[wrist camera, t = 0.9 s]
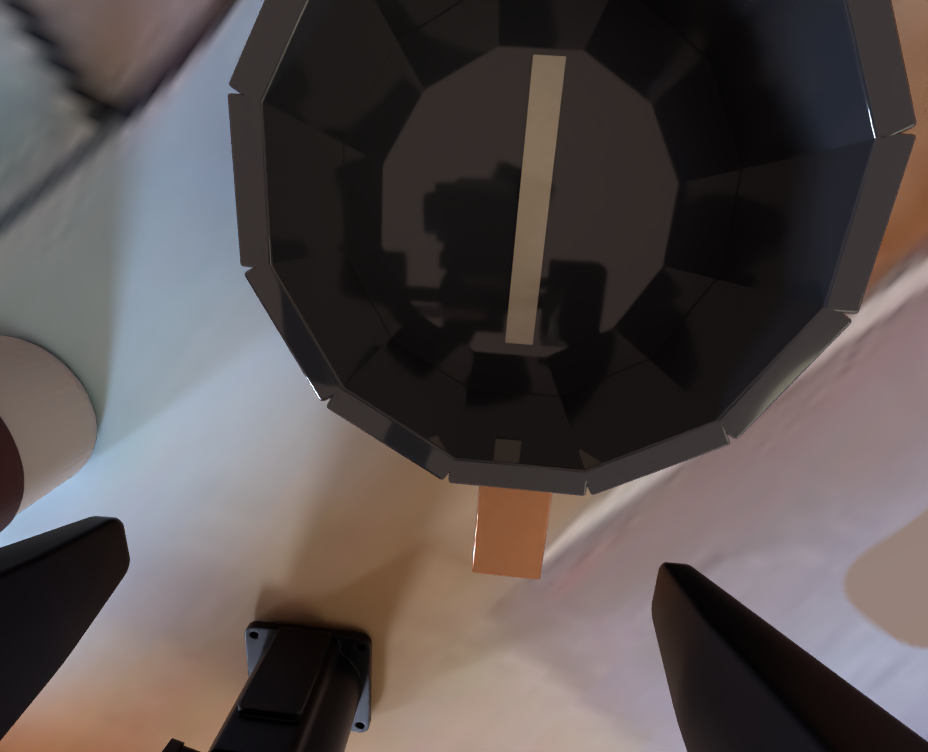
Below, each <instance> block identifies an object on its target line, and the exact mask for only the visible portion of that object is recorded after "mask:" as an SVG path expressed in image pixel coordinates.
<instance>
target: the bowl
mask: <svg viewBox="0 0 928 752" xmlns="http://www.w3.org/2000/svg"><path fill="white" fill-rule="evenodd" d="M229 85H230V86H231V87H232V88H233V89H235V90H236V91H238V92H239V93H241V94H236V93H231V94H228V105H229V118H230V131H231V144H232V158H233V171H234V184H235V197H236V210H237V223H238V236H239V249H240V263H241V265H242V266H244V267H253V268H251V269H249V270H248V271H246V273H245V277H246V278H247V280H248V282H249V283H250V285H251V287H252V288H253V290H254V292H255V293H256V295H257V297H258V298H259V300H260V301H261V303H262V305H263V306H264V308H265V310H266V311H267V313H268V315H269V316H270V318H271V320H272V321H273V323H274V325H275V326H276V328H277V330H278V331H279V333H280V335H281V336H282V338H283V340H284V341H285V343H286V345H287V346H288V348H289V350H290V351H291V353H292V355H293V356H294V358H295V360H296V361H297V363H298V365H299V366H300V368H301V370H302V371H303V373H304V375H305V376H306V378H307V380H308V381H309V383H310V385H311V386H312V388H313V390H314V391H315V393H316V395H317V396H318V398H319V400H321V401H325V400H328V399H330V398H331V399H330V400H329V402H328V404H327V408H328V409H330V410H331V411H333V412H334V413H336V414H338V415H339V416H341V417H342V418H344V419H345V420H347V421H349V422H350V423H352V424H353V425H355V426H357V427H358V428H360V429H361V430H363V431H365V432H366V433H368V434H369V435H371V436H373V437H374V438H376V439H377V440H379V441H380V442H382V443H384V444H385V445H387V446H388V447H390V448H392V449H393V450H395V451H396V452H398V453H400V454H401V455H403V456H404V457H406V458H407V459H409V460H411V461H412V462H414V463H415V464H417V465H419V466H420V467H422V468H423V469H425V470H427V471H428V472H430V473H431V474H433V475H435V476H436V477H438V478H439V479H442V480H443V479H444V478H445V477H446V476H447V474H448V473H449V478H448V480H449V482H450V483H456V484H467V485H477V486H479V492H478V504H477V515H476V526H475V538H474V550H473V562H472V572H473V573H481V574H490V575H500V576H509V577H519V578H528V579H538V580H539V579H540V576H541V569H542V562H543V555H544V548H545V541H546V534H547V527H548V520H549V513H550V506H551V499H552V493H559V494H569V495H579V496H584V495H585V494H586V490H587V487H588V489H589V491H590V493H591V494H592V495H595V494H597V493H600V492H603V491H605V490H608V489H611V488H614V487H616V486H619V485H622V484H624V483H627V482H630V481H633V480H635V479H638V478H641V477H643V476H646V475H649V474H651V473H654V472H657V471H660V470H662V469H665V468H668V467H670V466H673V465H676V464H678V463H681V462H684V461H687V460H689V459H692V458H695V457H697V456H700V455H703V454H706V453H708V452H711V451H714V450H716V449H719V448H722V447H724V446H727V445H729V444H730V441H729V438H728V435H729V436H731V437H732V438H735V439H737V438H739V437H740V436H741V435H742V434H743V433H744V432H745V431H746V430H747V429H748V428H749V427H750V426H751V425H752V424H753V423H754V422H755V421H756V420H757V419H758V418H759V417H760V416H761V415H762V413H763V412H764V411H765V410H766V409H767V408H768V407H769V406H770V405H771V404H772V403H773V402H774V401H775V400H776V399H777V398H778V397H779V396H780V395H781V394H782V393H783V392H784V391H785V390H786V389H787V388H788V387H789V386H790V385H791V384H792V383H793V382H794V381H795V380H796V379H797V378H798V377H799V376H800V375H801V374H802V373H803V372H804V371H805V370H806V369H807V368H808V367H809V365H810V364H811V363H812V362H813V361H814V360H815V359H816V358H817V357H818V356H819V355H820V354H821V353H822V352H823V351H824V350H825V349H826V348H827V347H828V346H829V345H830V344H831V343H832V342H833V341H834V340H835V339H836V338H837V337H838V336H839V335H840V334H841V333H842V332H843V331H844V330H845V329H846V328H847V327H848V326H849V325H850V324H851V322H852V321H851V319H850V318H849V317H848V316H846V315H845V314H844V313H847V314H856V313H858V312H859V309H860V306H861V303H862V300H863V297H864V294H865V291H866V288H867V285H868V282H869V278H870V275H871V272H872V269H873V266H874V263H875V260H876V257H877V254H878V251H879V248H880V245H881V242H882V239H883V236H884V233H885V230H886V227H887V224H888V221H889V218H890V215H891V211H892V208H893V205H894V202H895V199H896V196H897V193H898V190H899V187H900V184H901V181H902V178H903V175H904V172H905V169H906V166H907V163H908V160H909V157H910V154H911V151H912V147H913V144H914V141H915V138H916V136H915V135H913V134H902V133H903V132H905V131H907V130H909V129H911V128H913V127H914V126H915V125H916V118H915V113H914V108H913V103H912V98H911V93H910V89H909V84H908V79H907V74H906V69H905V64H904V60H903V55H902V50H901V45H900V40H899V35H898V31H897V26H896V21H895V16H894V11H893V6H892V1H891V0H265V1H264V3H263V5H262V8H261V10H260V12H259V15H258V17H257V19H256V22H255V24H254V26H253V29H252V31H251V33H250V36H249V38H248V40H247V43H246V45H245V47H244V50H243V52H242V54H241V57H240V59H239V61H238V64H237V66H236V68H235V71H234V73H233V75H232V78H231V80H230V82H229ZM727 434H728V435H727Z"/></svg>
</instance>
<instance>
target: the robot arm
mask: <svg viewBox="0 0 928 752" xmlns="http://www.w3.org/2000/svg"><path fill="white" fill-rule="evenodd" d="M129 563H130V556H129V551H128V546H127V540H126V535H125V530H124V526H123V523H122V522H121V521H120V520H119V519H117V518H113V517H101V516H93V517H89V518H86V519H83V520H80V521H77V522H74V523H71V524H68V525H65V526H63V527H60V528H57V529H54V530H51V531H48V532H45V533H42V534H39V535H36V536H33V537H31V538H28V539H25V540H22V541H19V542H16V543H13V544H10V545H7V546H4V547H2V548H0V741H1V739H2V738H3V737H4V736H5V734H6V733H7V732H8V731H9V730H10V728H11V727H12V726H13V725H14V723H15V722H16V721H17V720H18V719H19V717H20V716H21V715H22V714H23V712H24V711H25V710H26V709H27V708H28V706H29V705H30V704H31V703H32V701H33V700H34V699H35V698H36V696H37V695H38V694H39V693H40V692H41V690H42V689H43V688H44V687H45V685H46V684H47V683H48V682H49V681H50V679H51V678H52V677H53V676H54V674H55V673H56V672H57V670H58V669H59V668H60V667H61V665H62V664H63V663H64V661H65V660H66V659H67V657H68V656H69V655H70V653H71V652H72V650H73V649H74V648H75V646H76V645H77V643H78V642H79V640H80V639H81V638H82V636H83V635H84V633H85V632H86V630H87V629H88V628H89V626H90V625H91V623H92V622H93V620H94V619H95V617H96V616H97V615H98V613H99V612H100V610H101V609H102V607H103V606H104V604H105V603H106V602H107V600H108V599H109V597H110V596H111V594H112V593H113V592H114V590H115V589H116V587H117V586H118V584H119V583H120V581H121V580H122V579H123V577H124V576H125V574H126V572H127V570H128V567H129ZM652 619H653V623H654V628H655V632H656V636H657V640H658V644H659V648H660V653H661V657H662V661H663V665H664V669H665V673H666V678H667V682H668V686H669V690H670V694H671V698H672V703H673V707H674V710H675V714H676V718H677V722H678V725H679V728H680V731H681V734H682V737H683V740H684V743H685V746H686V749H687V752H928V742H927V741H926V740H924V739H923V738H922V737H920V736H919V735H918V734H916V733H915V732H914V731H912V730H911V729H910V728H908V727H907V726H906V725H904V724H903V723H902V722H900V721H899V720H898V719H896V718H895V717H894V716H892V715H891V714H889V713H888V712H887V711H885V710H884V709H883V708H881V707H880V706H879V705H877V704H876V703H875V702H873V701H872V700H871V699H869V698H868V697H867V696H865V695H864V694H863V693H861V692H860V691H859V690H857V689H856V688H855V687H853V686H852V685H850V684H849V683H848V682H846V681H845V680H844V679H842V678H841V677H840V676H838V675H837V674H836V673H834V672H833V671H832V670H830V669H829V668H828V667H826V666H825V665H824V664H822V663H821V662H820V661H818V660H817V659H816V658H814V657H813V656H812V655H810V654H809V653H807V652H806V651H805V650H803V649H802V648H801V647H799V646H798V645H797V644H795V643H794V642H793V641H791V640H790V639H789V638H787V637H786V636H785V635H783V634H782V633H781V632H779V631H778V630H777V629H775V628H774V627H773V626H771V625H770V624H768V623H767V622H766V621H764V620H763V619H762V618H760V617H759V616H758V615H756V614H755V613H754V612H752V611H751V610H750V609H748V608H747V607H746V606H744V605H743V604H742V603H740V602H739V601H738V600H736V599H735V598H734V597H732V596H731V595H729V594H728V593H727V592H725V591H724V590H723V589H721V588H720V587H719V586H717V585H716V584H715V583H713V582H712V581H711V580H709V579H708V578H707V577H705V576H704V575H703V574H701V573H700V572H699V571H697V570H696V569H695V568H693V567H692V566H690V565H688V564H681V563H669V562H665V563H663V564H662V565H661V566H660V568H659V571H658V576H657V581H656V586H655V591H654V596H653V600H652ZM245 642H246V653H247V663H248V674H249V679H248V680H247V682H246V684H245V686H244V688H243V689H242V691H241V693H240V695H239V697H238V698H237V700H236V702H235V704H234V706H233V708H232V709H231V711H230V713H229V715H228V717H227V718H226V720H225V722H224V724H223V726H222V727H221V729H220V731H219V733H218V735H217V736H216V738H215V740H214V742H213V744H212V746H211V747H210V749H209V751H208V752H344V751H345V748H346V744H347V741H348V737H349V734H350V731H355V732H365V731H367V730H368V729H369V725H370V721H371V665H372V641H371V638H370V637H369V636H368V635H367V634H364V633H357V632H348V631H340V630H331V629H322V628H313V627H304V626H295V625H287V624H278V623H269V622H260V621H253V622H251V623H250V624H249V626H248V627H247V629H246V631H245ZM359 643H361V644H359ZM362 644H363V645H362ZM162 752H200V751H197V750H194V749H192V748H189V747H186V746H184V742H181V741H179V740H176V739H173V738H172V739H171V740H170V742H169V743H168V744H167V746H166V747H165V748H164V750H163V751H162Z"/></svg>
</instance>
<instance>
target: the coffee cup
mask: <svg viewBox="0 0 928 752" xmlns="http://www.w3.org/2000/svg"><path fill="white" fill-rule="evenodd" d="M96 438H97V423H96V415H95V412H94V409H93V406H92V403H91V401H90V398H89V396H88V394H87V392H86V391H85V389H84V387H83V386H82V384H81V383H80V381H79V380H78V379H77V378H76V376H75V375H74V374H73V373H72V371H71V370H70V369H69V368H68V367H66V366H65V365H64V364H63V363H62V362H61V361H60V360H59V359H57V358H56V357H54V356H53V355H52V354H50V353H49V352H47V351H45V350H44V349H42V348H41V347H39V346H37V345H34V344H32V343H30V342H27V341H24V340H21V339H18V338H14V337H9V336H4V335H0V532H1V531H2V530H3V529H5V528H6V527H7V526H8V525H9V524H10V522H11V521H12V520H13V518H14V517H15V515H17V514H18V513H20V512H21V511H23V510H24V509H26V508H27V507H28V506H30V505H31V504H33V503H34V502H36V501H37V500H39V499H40V498H42V497H43V496H45V495H46V494H47V493H49V492H50V491H52V490H53V489H55V488H56V487H58V486H59V485H61V484H62V483H64V482H65V481H66V480H68V479H69V478H71V477H72V476H74V475H75V474H76V473H77V472H78V471H79V470H80V469H81V468H82V467H83V466H84V465H85V464H86V463H87V461H88V460H89V458H90V456H91V455H92V452H93V450H94V446H95V442H96Z"/></svg>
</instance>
